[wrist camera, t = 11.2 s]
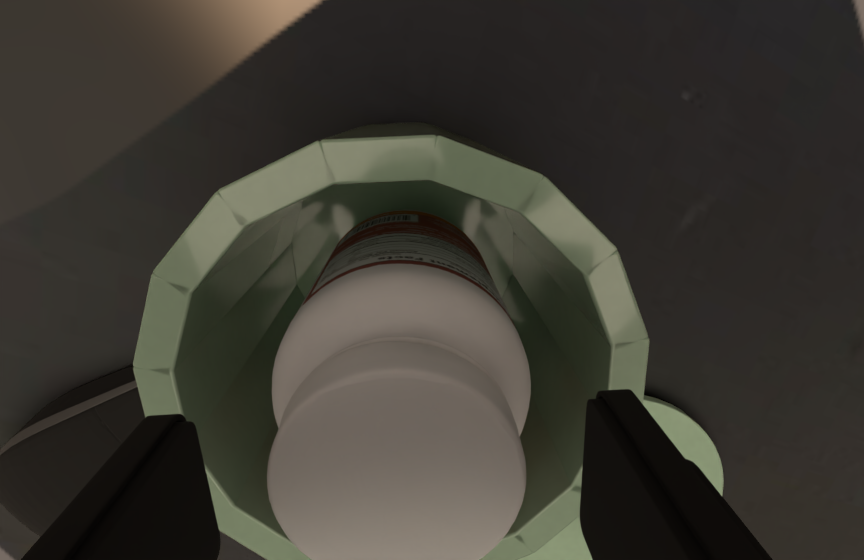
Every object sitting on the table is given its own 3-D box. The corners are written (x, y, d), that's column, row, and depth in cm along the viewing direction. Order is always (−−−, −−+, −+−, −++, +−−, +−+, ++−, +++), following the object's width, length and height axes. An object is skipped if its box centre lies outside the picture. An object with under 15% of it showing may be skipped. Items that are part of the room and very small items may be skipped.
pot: (258, 128, 22) (74, 150, 10) (532, 116, 22) (673, 123, 10) (293, 373, 26) (191, 602, 14) (527, 361, 26) (626, 573, 14)
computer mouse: (262, 430, 26) (237, 484, 23) (82, 533, 28) (31, 599, 24) (172, 325, 24) (127, 365, 21) (-16, 443, 26) (-88, 499, 22)
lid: (482, 393, 26) (501, 466, 21) (726, 378, 27) (807, 447, 21) (484, 581, 30) (500, 683, 25) (696, 567, 31) (757, 665, 25)
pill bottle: (428, 383, 21) (441, 662, 10) (296, 307, 20) (159, 535, 9) (519, 263, 19) (642, 445, 9) (382, 171, 18) (335, 258, 8)
